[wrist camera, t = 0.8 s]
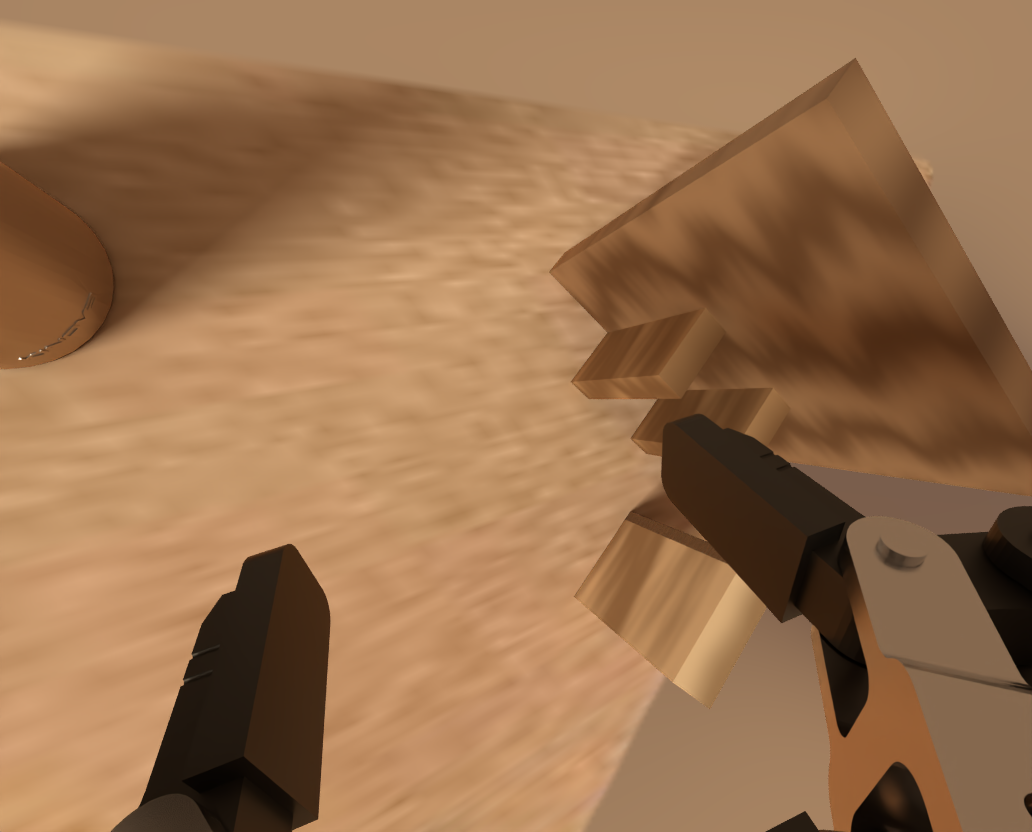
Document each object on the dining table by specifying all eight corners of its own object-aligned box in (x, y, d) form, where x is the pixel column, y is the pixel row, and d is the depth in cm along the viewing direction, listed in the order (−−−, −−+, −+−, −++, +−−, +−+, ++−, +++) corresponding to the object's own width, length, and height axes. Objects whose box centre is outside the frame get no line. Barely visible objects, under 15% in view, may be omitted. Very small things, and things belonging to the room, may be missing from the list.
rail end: (574, 596, 34) (672, 682, 24) (630, 511, 36) (745, 557, 25) (603, 618, 35) (709, 709, 25) (656, 534, 37) (777, 587, 26)
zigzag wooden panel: (508, 322, 31) (747, 209, 13) (565, 252, 33) (855, 58, 14) (694, 499, 38) (1031, 595, 19) (734, 434, 39) (1085, 466, 21)
